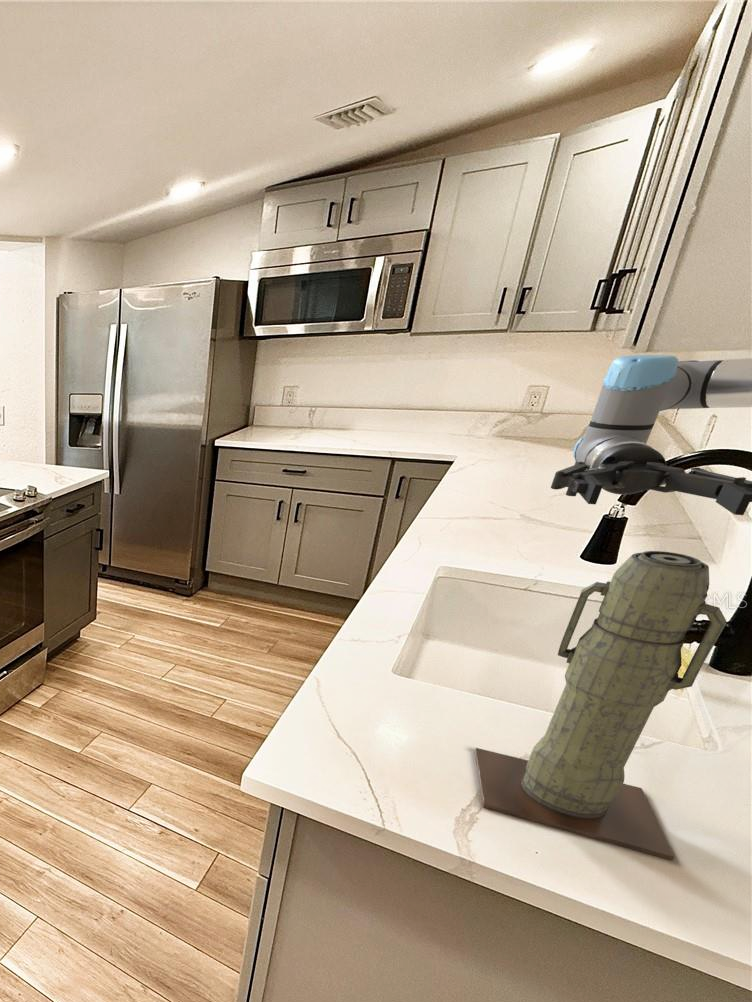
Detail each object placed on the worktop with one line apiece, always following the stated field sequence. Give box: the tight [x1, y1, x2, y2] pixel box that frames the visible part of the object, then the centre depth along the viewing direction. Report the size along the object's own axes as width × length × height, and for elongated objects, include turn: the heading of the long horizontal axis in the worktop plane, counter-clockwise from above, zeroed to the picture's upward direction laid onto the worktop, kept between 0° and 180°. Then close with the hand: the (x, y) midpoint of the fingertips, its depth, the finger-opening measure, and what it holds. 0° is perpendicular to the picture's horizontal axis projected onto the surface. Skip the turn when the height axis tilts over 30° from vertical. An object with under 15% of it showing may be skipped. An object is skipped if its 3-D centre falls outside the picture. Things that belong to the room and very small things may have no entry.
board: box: [474, 747, 675, 861], centre depth 84 cm, size 18×14×1 cm
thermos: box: [521, 550, 728, 819], centre depth 77 cm, size 9×12×35 cm
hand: (666, 499), depth 81 cm, fingers open, 13 cm apart
